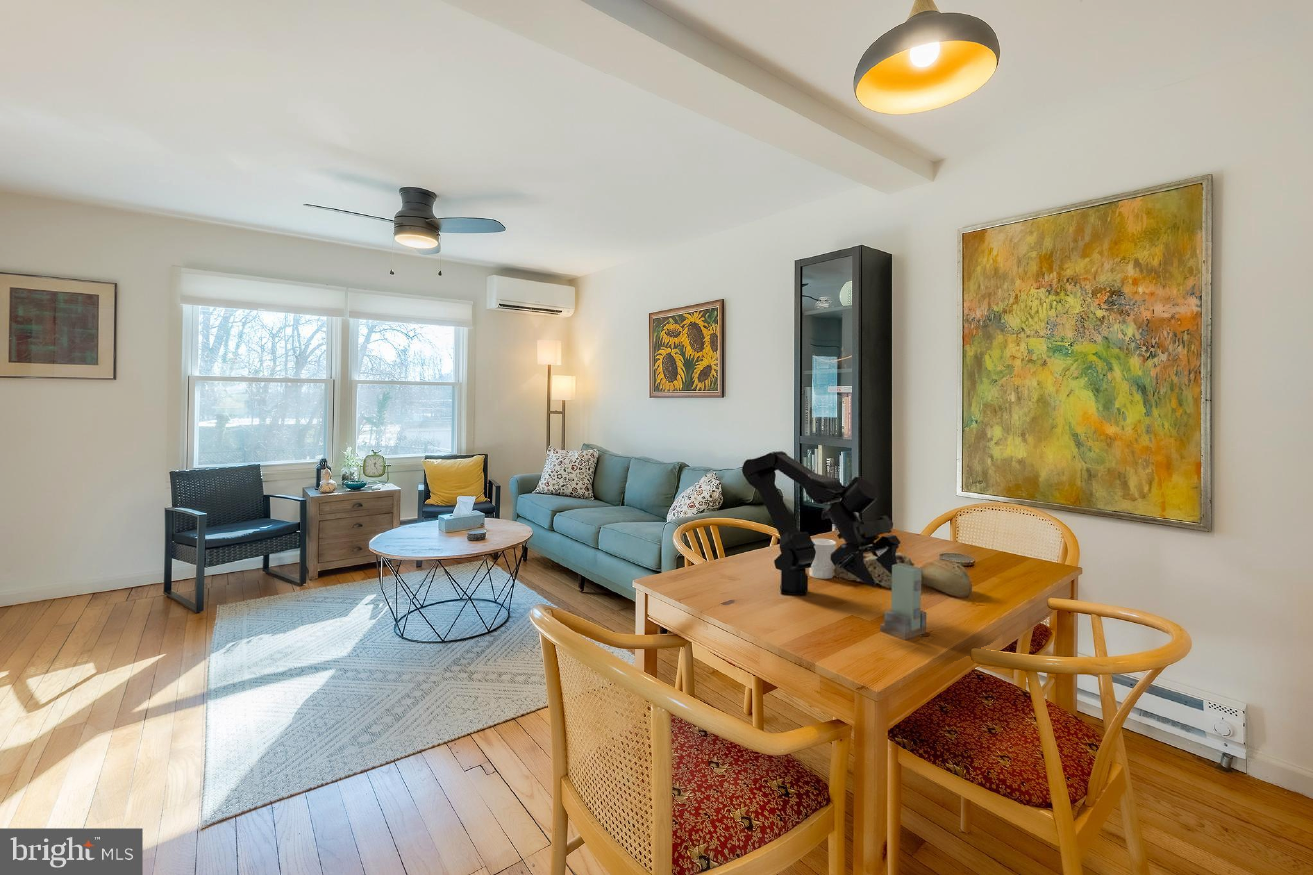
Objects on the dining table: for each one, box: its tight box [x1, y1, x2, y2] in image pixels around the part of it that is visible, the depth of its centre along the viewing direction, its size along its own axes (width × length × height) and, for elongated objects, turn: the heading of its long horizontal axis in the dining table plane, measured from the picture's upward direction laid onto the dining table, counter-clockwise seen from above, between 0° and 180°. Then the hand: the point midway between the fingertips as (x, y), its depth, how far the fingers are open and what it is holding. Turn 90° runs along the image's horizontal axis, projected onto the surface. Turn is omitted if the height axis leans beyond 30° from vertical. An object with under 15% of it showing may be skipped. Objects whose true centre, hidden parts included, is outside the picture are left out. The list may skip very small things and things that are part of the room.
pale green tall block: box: [890, 563, 922, 631], centre depth 125 cm, size 5×3×13 cm, turn 33°
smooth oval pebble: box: [919, 558, 973, 598], centre depth 154 cm, size 10×15×8 cm, turn 26°
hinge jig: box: [879, 610, 928, 641], centre depth 126 cm, size 6×8×4 cm
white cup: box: [808, 538, 837, 580], centre depth 167 cm, size 8×8×10 cm
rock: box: [834, 551, 915, 589], centre depth 164 cm, size 21×14×10 cm
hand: (887, 582), depth 129 cm, fingers open, 9 cm apart
